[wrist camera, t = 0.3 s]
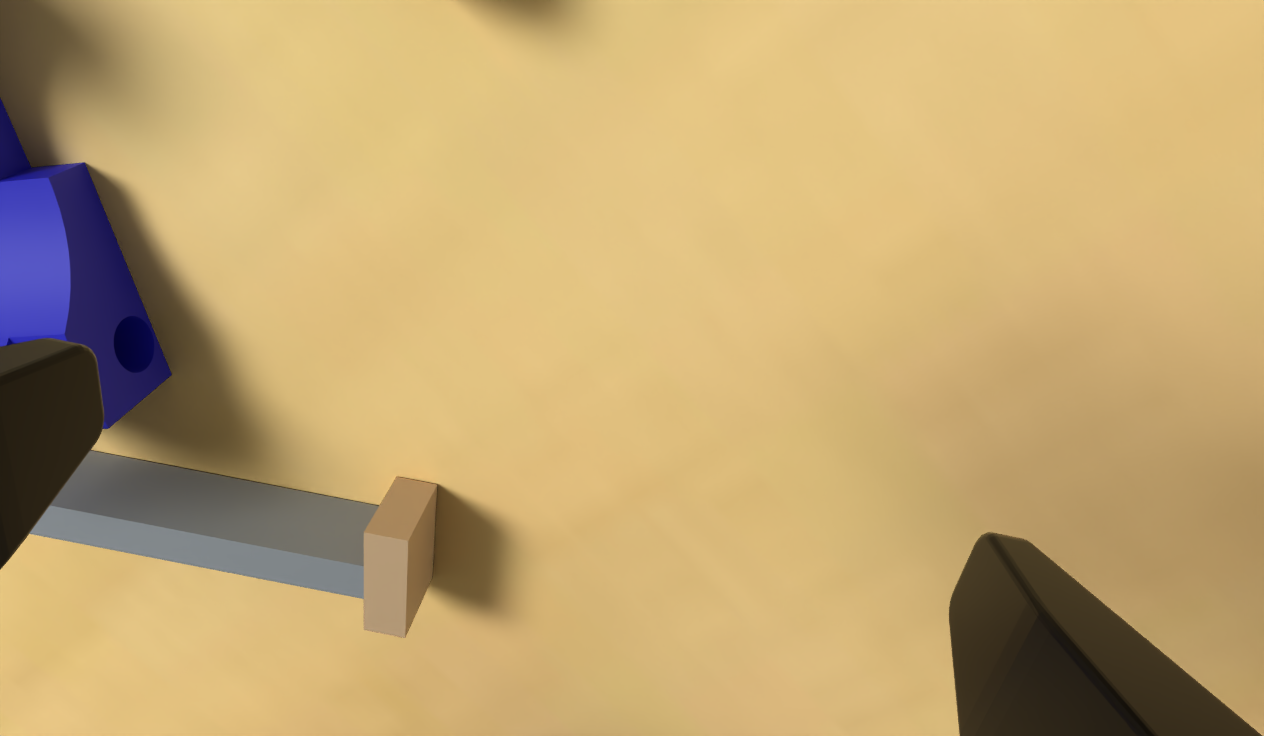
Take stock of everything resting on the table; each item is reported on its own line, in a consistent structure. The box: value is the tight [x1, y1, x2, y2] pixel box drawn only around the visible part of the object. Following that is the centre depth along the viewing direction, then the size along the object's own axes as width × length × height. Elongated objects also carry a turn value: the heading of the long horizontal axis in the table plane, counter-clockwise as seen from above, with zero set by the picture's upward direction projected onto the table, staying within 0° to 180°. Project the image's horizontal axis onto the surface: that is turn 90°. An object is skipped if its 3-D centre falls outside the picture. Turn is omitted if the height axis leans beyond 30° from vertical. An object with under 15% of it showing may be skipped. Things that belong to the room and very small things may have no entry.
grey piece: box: [29, 450, 437, 638], centre depth 21 cm, size 21×17×2 cm
